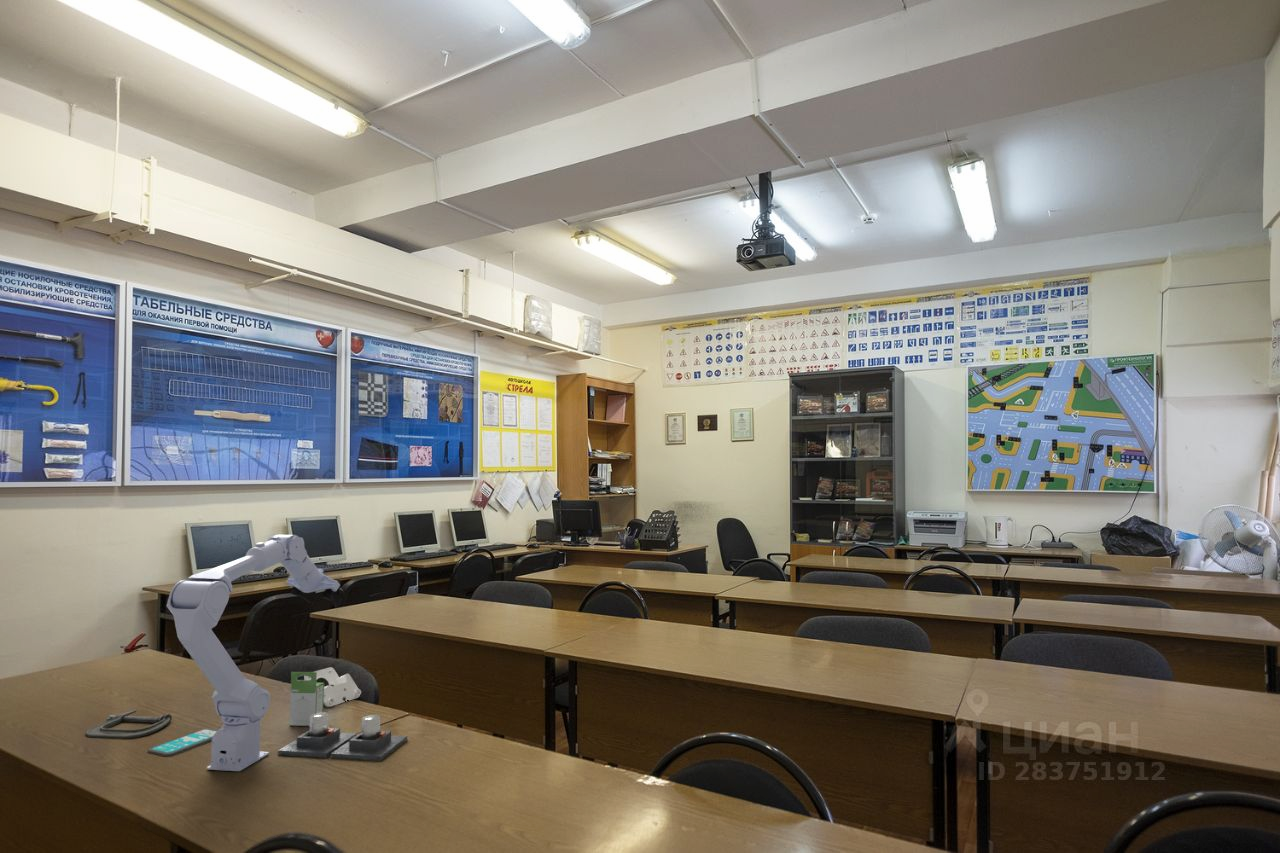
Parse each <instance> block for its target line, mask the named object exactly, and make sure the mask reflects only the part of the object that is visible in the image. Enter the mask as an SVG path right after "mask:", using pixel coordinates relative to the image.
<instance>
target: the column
mask: <svg viewBox="0 0 1280 853" xmlns="http://www.w3.org/2000/svg"><path fill="white" fill-rule="evenodd" d="M360 729H361V730H360V731H361V732H360V733H361V740H376V739H377V738H379V734H380V730H381V715H380V714H379V715H378V714H369V715H365V716H363V717H361V728H360Z"/></svg>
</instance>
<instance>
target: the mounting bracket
mask: <svg viewBox="0 0 1280 853" xmlns="http://www.w3.org/2000/svg"><path fill="white" fill-rule="evenodd" d="M314 672H317V677H316V681H317V680H318V679H321V678H322V679H324V680H326V681H327V683H328V685H326V686H325V685H324V702H323V706H325V707H327V708H332V707H333V706H337V705H340V704H343V703H346V702H348V701H347V700H349V701H352V700H355V699H358V698H359V697H360V695H361V694H362V690H361V689H360V688H358V685H357V684H356V682H355V681H354V679H353V677H352V676H351V674H350V673H346V674H344V675H341V676H339V675H338V673H337V672H336V670H335V669H334V668H333V667H332V666H330V667H326V668H322V669H318V670H315V671H314ZM303 680H311V677H308V676H303ZM344 698H345V699H344ZM345 701H346V702H345Z"/></svg>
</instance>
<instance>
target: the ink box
mask: <svg viewBox="0 0 1280 853" xmlns="http://www.w3.org/2000/svg"><path fill="white" fill-rule="evenodd" d="M290 675H291V676H290V690H289V691H290V695H289V699H290V700H289V719H288V720H289V721H288V722H289V723H288V725H289V726H302V727H304V726H305V727H310V715H312V714H315V713H320V712H324V703H323V702H324V687H325V682H318V681H317V680H316V677H317V672H315V671H291V672H290ZM304 676H308V677H311V680H304V679H298V678H300V677H304Z"/></svg>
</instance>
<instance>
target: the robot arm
mask: <svg viewBox="0 0 1280 853" xmlns="http://www.w3.org/2000/svg"><path fill="white" fill-rule="evenodd" d="M307 552H308V551H307V549H306V547H305V540H304V538H303V537H300V536H298V535H297V534H274V535H273V534H272V535H270V536H269V537H268V538H267V540H266V541H265V542H261V541H260V542H257V543H255V546H254V547H252V548H249V549H248V551H246V554H245V556H242V557H240V558H237V559H235V560H231V561H230V562H227V563H224V564H221V565H218V566H216V567H213V568H210V569H207V570H204V571H200V572H197V573H195V574H192V575H190V576H189V577H188V579H183V580H179V581H178V582H176V584H174V585H173V587H172V588H171V591H170V592H169V596H168V598H167V603H166V608H167V609H168V610H169V611H170V613H171V614H172V616H173V620H174V626H175V630H176V636H177V638H178V641H179V642H180V643H181V645H182V646H183V648H184V649H185V650H186V651H187V654H189V655H190V657H191V658H192V660H193V661H194V663H196V665H197V666H198V668H199V669H200V671H201V672H202V673H203V674H204V676H205V678H207V680H208V681H209V683H210V684H211V685H212V687H213V688H214V692H213V694H212V696H211V700H212V701H213V703H214V708H215V712H216V714H217V715H218V716H220V722H223V724H222V726H221V727H220V728H219V729H220V730H218V731H217V732H216V733H215V734H214V736H213V738H212V741H210V742H211V745H210V747H211V748H210V765H208V766H206V770H212V771H213V770H214V771H228V772H230V771H231V772H241V771H243V770H245V769H246V768H248V767H250V766H251V765H253V764H254V763H257V762H258V761H259V760H261V759H263V758H265V757H266V756H268V755H269V754H270V752H269V751H263V750H262V751H261V731H262V730H261V728H262V726H261V724H262V718H264V716H265V715H266V713H267V712H268V711H269V707H270V705H271V704H270V703H271V695H270V692H269V691H268V690H267V689H264V688H262V687H260V685H259V684H258V683H257V682H254V681H252V680H250V679H248V678H246V677H245V676H244V675H243V673H242V672H241V670H240V669H239V667H238V666H237V665H236V662H235V661H234V660H233V659H232V657H231V656H230V654H229V653H228V651H227V650H226V649H225V647H224V646H223V644H222V643H221V641H220V640H219V638H218V637H217V636H216V634H215V633H214V631H213V630H212V629H214V628H215V627H216V626H217V625H218V622H219V621H220V619H221V617H222V615H223V613H224V611H225V608H226V606H227V605H228V602H229V599H230V593H233V590H234V589H233V584H232V582H233V581H235V580H237V579H239V578H241V577H242V576H244V575H246V574H247V573H250V572H251V571H253V572H257V573H258V572H262V571H265V570H267V569H268V568H270V567H273V566H275V565H277V564H279V563H280V564H281V565H282V566H283V568H284V569H285V570H286V571H287V572H288V574H289V577H288V579H287V580H286V581H285V582H286V584H287V585H288V586H289V587H292V589H291V591H290V594H291V595H294V596H297V597H300V598H301V599H303V600H305V601H306V602H307V603H309V604H311V605H313V606H314V605H315V604H316V603H317V601H318V600H319V596H318V594H317V592H319V591H323V590H324V591H323V592H322V594H321V596H320V597H321V598H322V599H325V600H326V601H328V602H330V603H331V604H332V605H333V606H334V607H335V608H340V606H341V604H342V603H343V602H344V601H343V598H342V594H341V585H342V584H341V583H342V582H341V581H340V580H339V579H332V578H331V577H330V576H327V575H325V573H324V569H323V568H318V567H317V566H316V565H315V563H314V562H313V560H312V559H311V558H310V556H309V555H308V553H307ZM189 579H191V580H189Z"/></svg>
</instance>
